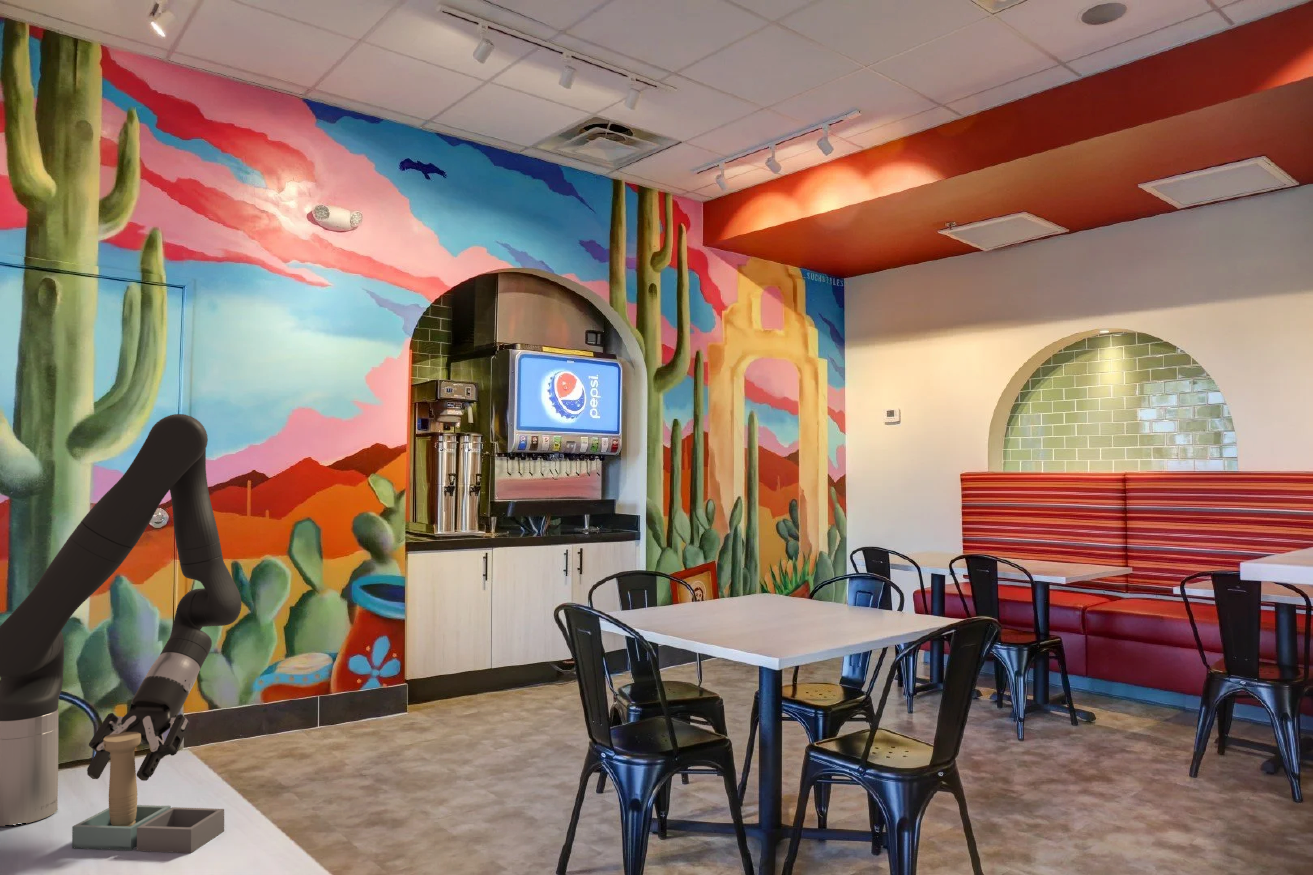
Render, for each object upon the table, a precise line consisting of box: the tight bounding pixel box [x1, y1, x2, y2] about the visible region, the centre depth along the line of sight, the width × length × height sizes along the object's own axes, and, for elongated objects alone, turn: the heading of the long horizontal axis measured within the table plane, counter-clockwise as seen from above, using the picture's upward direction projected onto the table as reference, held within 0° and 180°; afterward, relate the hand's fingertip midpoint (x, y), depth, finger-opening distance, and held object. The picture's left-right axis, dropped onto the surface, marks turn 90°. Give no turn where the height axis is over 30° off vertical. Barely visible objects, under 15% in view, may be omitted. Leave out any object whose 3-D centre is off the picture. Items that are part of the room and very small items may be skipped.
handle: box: [103, 732, 141, 827], centre depth 138 cm, size 5×6×15 cm
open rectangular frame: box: [136, 806, 225, 854], centre depth 135 cm, size 9×8×4 cm
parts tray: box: [71, 804, 172, 851], centre depth 137 cm, size 10×9×3 cm
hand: (116, 777), depth 136 cm, fingers open, 8 cm apart
